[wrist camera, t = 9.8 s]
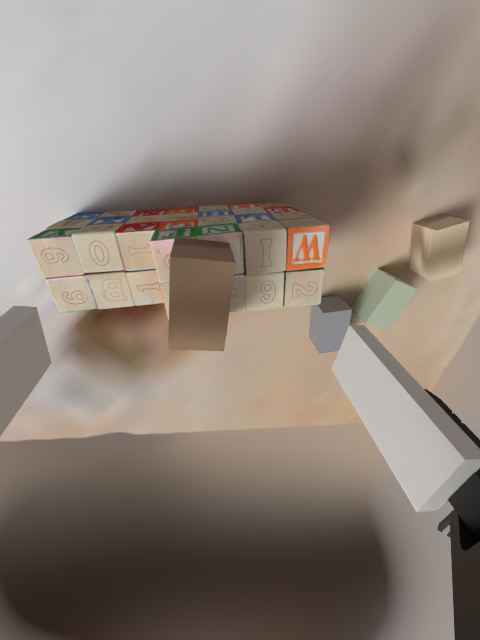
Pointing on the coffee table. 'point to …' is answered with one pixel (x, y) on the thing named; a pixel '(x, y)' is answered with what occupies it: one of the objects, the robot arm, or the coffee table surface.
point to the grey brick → (329, 323)
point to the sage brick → (383, 299)
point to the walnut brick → (199, 294)
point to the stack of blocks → (155, 248)
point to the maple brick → (438, 246)
